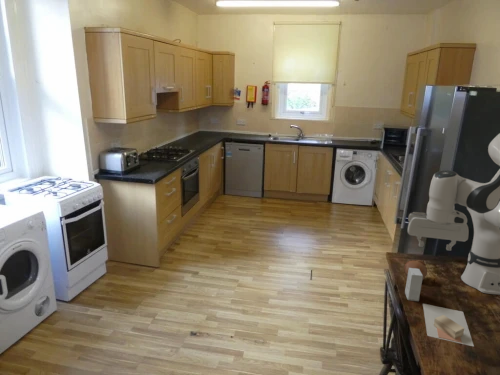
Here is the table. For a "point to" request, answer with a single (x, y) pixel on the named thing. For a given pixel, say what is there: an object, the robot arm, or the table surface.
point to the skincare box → (413, 284)
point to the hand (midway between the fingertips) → (434, 248)
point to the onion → (418, 265)
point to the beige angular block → (449, 326)
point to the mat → (454, 315)
